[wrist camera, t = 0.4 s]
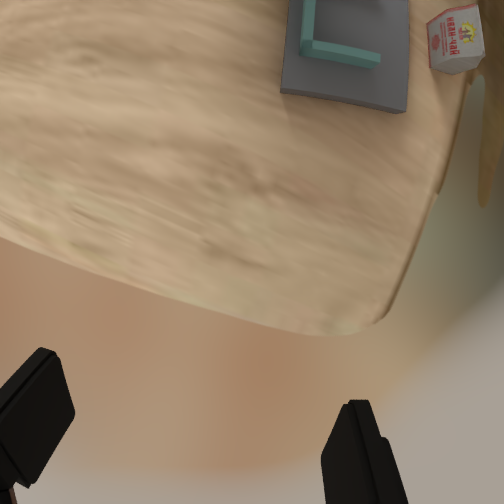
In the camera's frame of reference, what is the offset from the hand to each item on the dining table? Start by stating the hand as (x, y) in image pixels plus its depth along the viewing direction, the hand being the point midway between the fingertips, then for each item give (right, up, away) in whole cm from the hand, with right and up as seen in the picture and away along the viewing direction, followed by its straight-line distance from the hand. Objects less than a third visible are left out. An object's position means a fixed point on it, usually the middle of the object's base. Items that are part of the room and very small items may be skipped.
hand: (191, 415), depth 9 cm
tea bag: (+26, +31, +21) cm, 46 cm away
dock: (+13, +32, +21) cm, 40 cm away
